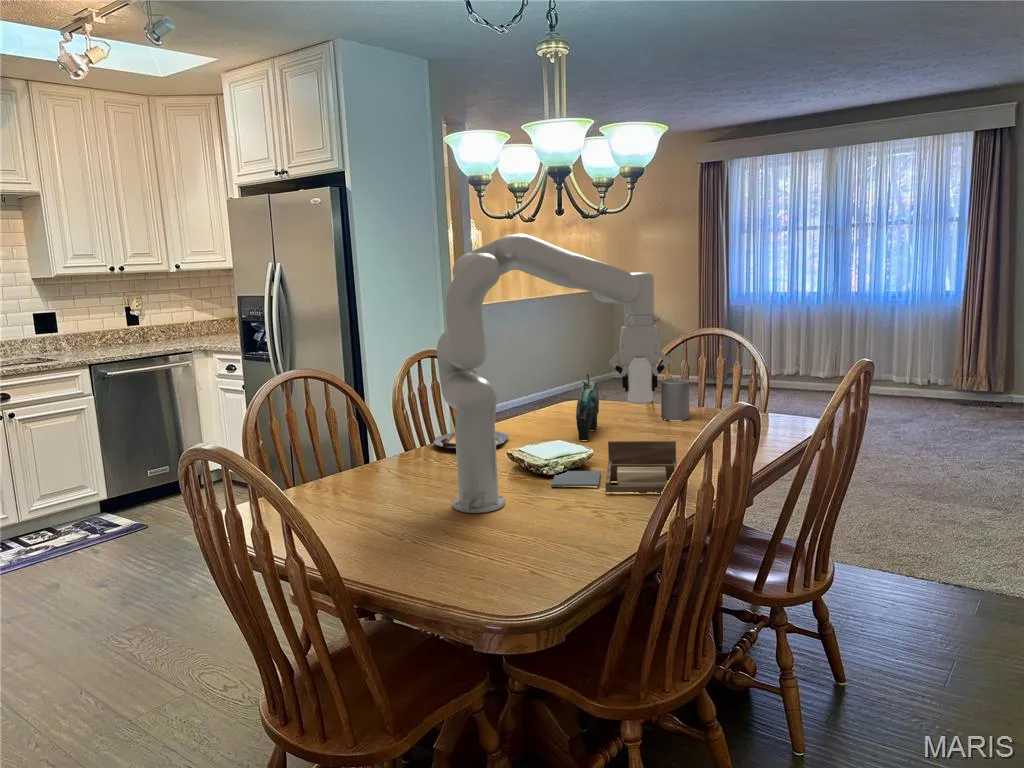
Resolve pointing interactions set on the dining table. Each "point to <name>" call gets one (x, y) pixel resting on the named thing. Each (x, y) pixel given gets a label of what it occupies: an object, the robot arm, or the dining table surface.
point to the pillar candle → (675, 399)
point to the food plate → (450, 442)
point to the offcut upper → (641, 474)
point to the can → (640, 381)
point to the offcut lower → (642, 483)
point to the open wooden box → (639, 461)
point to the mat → (577, 478)
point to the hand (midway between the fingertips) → (639, 390)
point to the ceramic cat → (587, 408)
